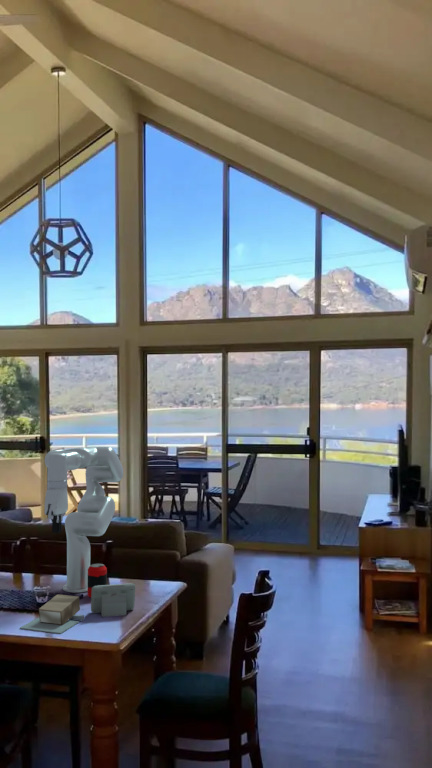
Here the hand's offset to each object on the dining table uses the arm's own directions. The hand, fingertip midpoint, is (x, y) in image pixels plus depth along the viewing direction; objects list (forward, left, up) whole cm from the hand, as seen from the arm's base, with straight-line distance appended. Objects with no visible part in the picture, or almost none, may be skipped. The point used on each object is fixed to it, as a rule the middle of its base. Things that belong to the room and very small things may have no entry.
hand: (56, 532), depth 251 cm
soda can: (-14, +10, -27) cm, 32 cm away
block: (+11, +12, -22) cm, 28 cm away
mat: (+23, +12, -27) cm, 38 cm away
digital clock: (+3, +26, -27) cm, 38 cm away
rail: (+14, +12, -27) cm, 33 cm away
